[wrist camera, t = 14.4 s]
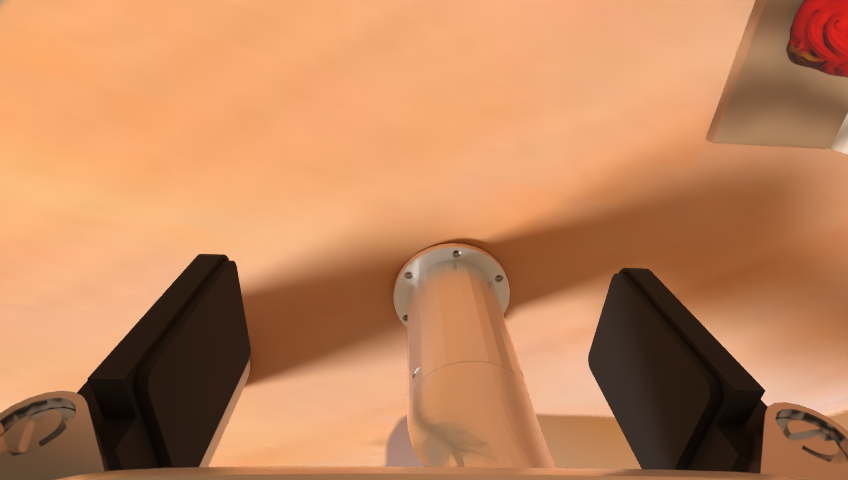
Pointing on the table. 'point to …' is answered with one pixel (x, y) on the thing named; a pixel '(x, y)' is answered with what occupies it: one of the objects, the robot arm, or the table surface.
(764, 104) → the shelf board
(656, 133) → the table surface
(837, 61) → the red clay folk toy
